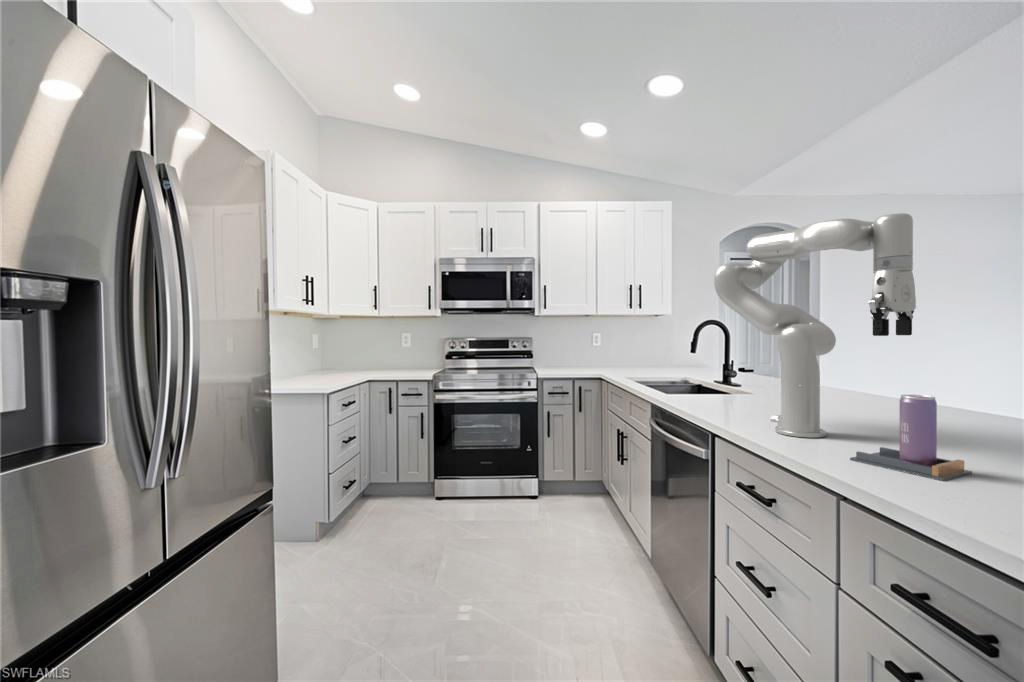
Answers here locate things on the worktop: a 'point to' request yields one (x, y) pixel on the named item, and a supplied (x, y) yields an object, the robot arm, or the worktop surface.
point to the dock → (913, 464)
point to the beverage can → (918, 429)
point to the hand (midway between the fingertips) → (892, 335)
